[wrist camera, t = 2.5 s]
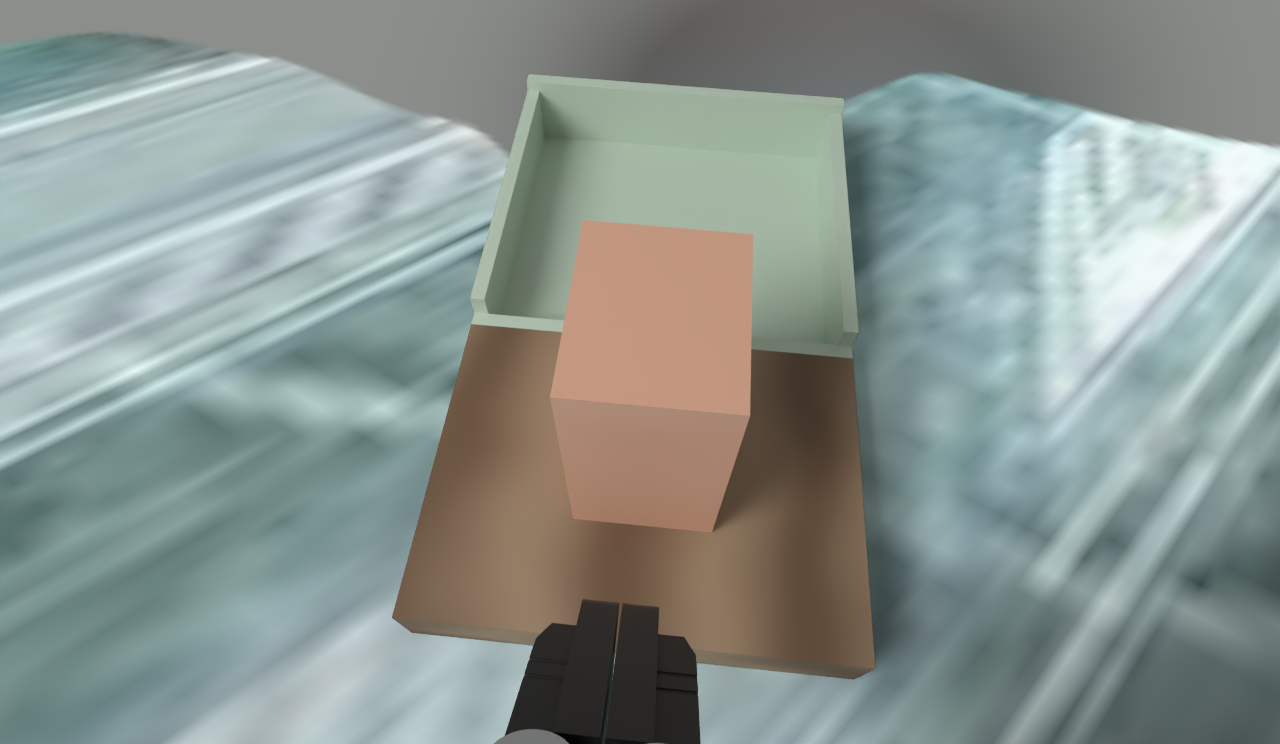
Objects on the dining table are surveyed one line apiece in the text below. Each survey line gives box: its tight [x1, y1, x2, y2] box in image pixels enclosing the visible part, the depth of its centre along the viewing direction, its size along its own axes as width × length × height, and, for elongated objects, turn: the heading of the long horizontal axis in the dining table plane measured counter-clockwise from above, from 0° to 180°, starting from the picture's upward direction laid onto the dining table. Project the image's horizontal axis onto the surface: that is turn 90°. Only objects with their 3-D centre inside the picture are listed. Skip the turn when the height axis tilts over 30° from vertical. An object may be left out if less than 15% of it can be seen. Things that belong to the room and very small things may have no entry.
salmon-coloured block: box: [550, 220, 753, 533], centre depth 23 cm, size 5×6×9 cm
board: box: [392, 324, 875, 679], centre depth 27 cm, size 16×12×2 cm
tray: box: [470, 74, 859, 358], centre depth 33 cm, size 16×15×4 cm
